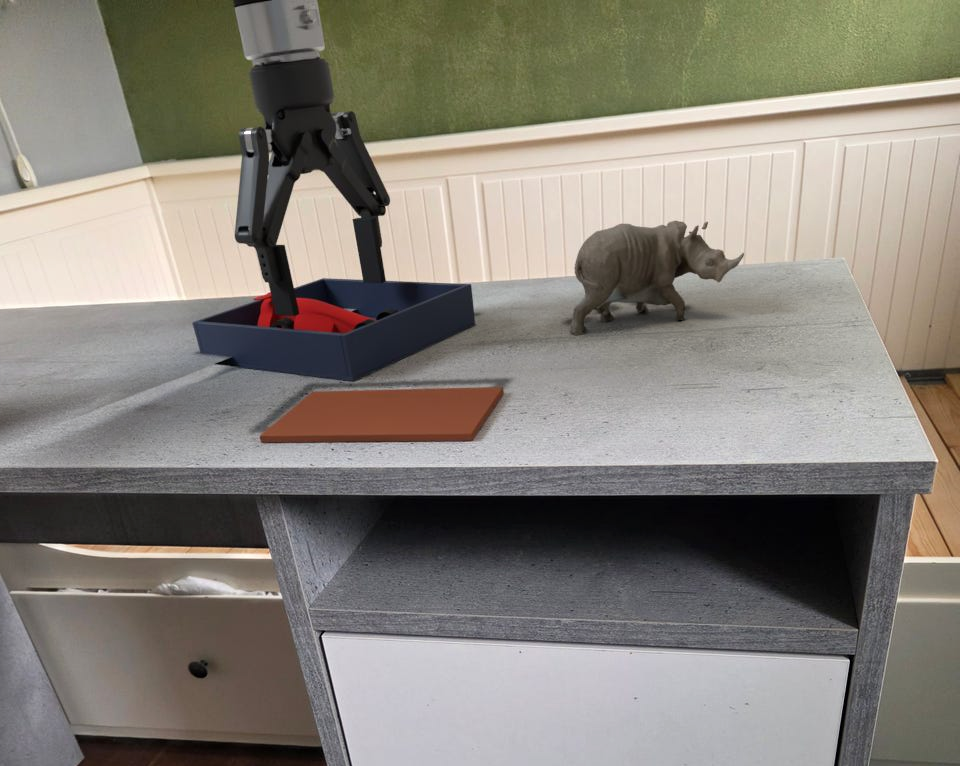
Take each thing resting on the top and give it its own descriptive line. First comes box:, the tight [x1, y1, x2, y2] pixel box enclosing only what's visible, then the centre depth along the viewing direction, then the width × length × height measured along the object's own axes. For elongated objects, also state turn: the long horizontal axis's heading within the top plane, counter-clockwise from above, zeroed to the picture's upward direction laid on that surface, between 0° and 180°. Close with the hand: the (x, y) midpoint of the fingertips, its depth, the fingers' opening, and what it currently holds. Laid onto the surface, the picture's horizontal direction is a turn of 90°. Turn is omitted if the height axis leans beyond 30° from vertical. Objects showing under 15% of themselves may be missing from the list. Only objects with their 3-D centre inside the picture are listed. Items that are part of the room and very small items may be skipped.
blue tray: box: [191, 277, 476, 382], centre depth 95 cm, size 22×20×4 cm
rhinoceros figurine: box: [569, 220, 745, 336], centre depth 89 cm, size 8×14×15 cm
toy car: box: [252, 291, 399, 334], centre depth 94 cm, size 6×18×5 cm, turn 63°
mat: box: [259, 386, 505, 443], centre depth 74 cm, size 18×11×1 cm, turn 76°
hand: (333, 298), depth 93 cm, fingers open, 13 cm apart
